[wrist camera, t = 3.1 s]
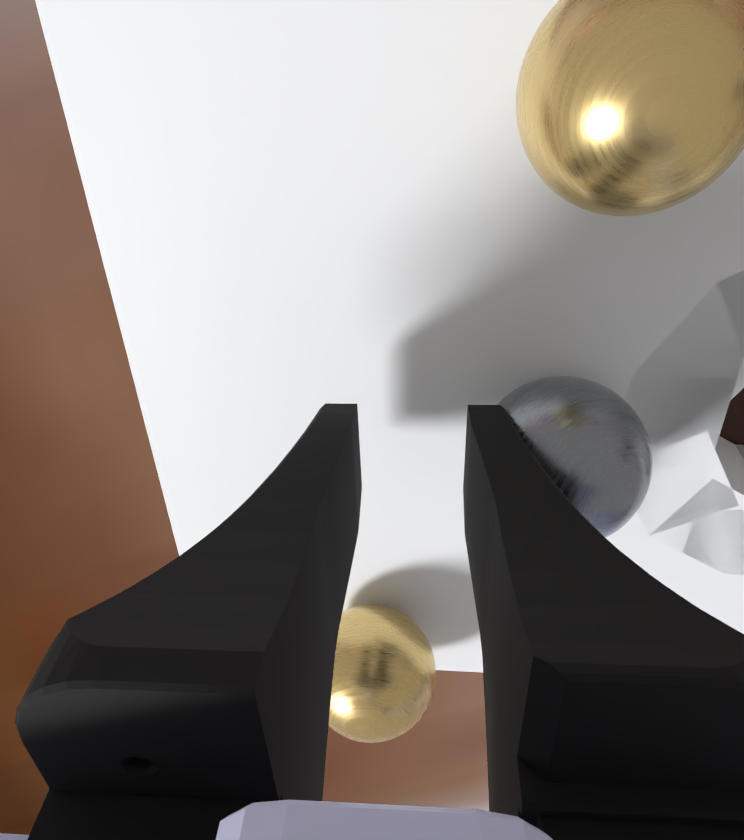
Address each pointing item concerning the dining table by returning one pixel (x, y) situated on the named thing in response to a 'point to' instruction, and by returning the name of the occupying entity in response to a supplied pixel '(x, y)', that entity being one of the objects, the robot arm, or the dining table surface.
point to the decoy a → (380, 674)
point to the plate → (389, 276)
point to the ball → (586, 445)
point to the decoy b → (633, 100)
